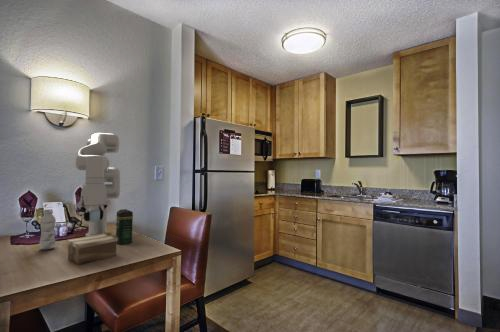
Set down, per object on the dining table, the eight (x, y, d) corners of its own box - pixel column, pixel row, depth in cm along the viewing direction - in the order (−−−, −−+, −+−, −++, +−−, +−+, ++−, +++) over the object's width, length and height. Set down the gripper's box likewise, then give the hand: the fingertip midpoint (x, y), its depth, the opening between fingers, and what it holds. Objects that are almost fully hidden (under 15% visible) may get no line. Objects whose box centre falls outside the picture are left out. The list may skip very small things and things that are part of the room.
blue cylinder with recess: (85, 220, 123) (85, 210, 123) (97, 219, 127) (97, 209, 127) (90, 222, 120) (90, 211, 120) (102, 220, 124) (102, 210, 124)
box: (68, 258, 120) (68, 243, 121) (104, 250, 133) (104, 236, 133) (79, 264, 113) (79, 248, 113) (116, 255, 126) (116, 241, 126)
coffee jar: (133, 243, 148) (134, 210, 148) (118, 245, 143) (119, 211, 143) (129, 239, 155) (129, 208, 155) (114, 241, 150) (115, 209, 150)
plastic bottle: (46, 251, 130) (47, 211, 130) (35, 250, 131) (36, 210, 132) (58, 247, 136) (59, 209, 137) (47, 246, 138) (48, 208, 138)
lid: (67, 243, 120) (67, 236, 121) (104, 236, 134) (105, 230, 134) (78, 248, 113) (78, 241, 113) (117, 240, 126) (117, 234, 126)
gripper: (109, 180, 133) (108, 216, 133) (70, 181, 119) (69, 221, 119) (116, 181, 129) (115, 218, 128) (77, 182, 115) (76, 223, 114)
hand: (93, 219), depth 124 cm, fingers closed on blue cylinder with recess, 5 cm apart
